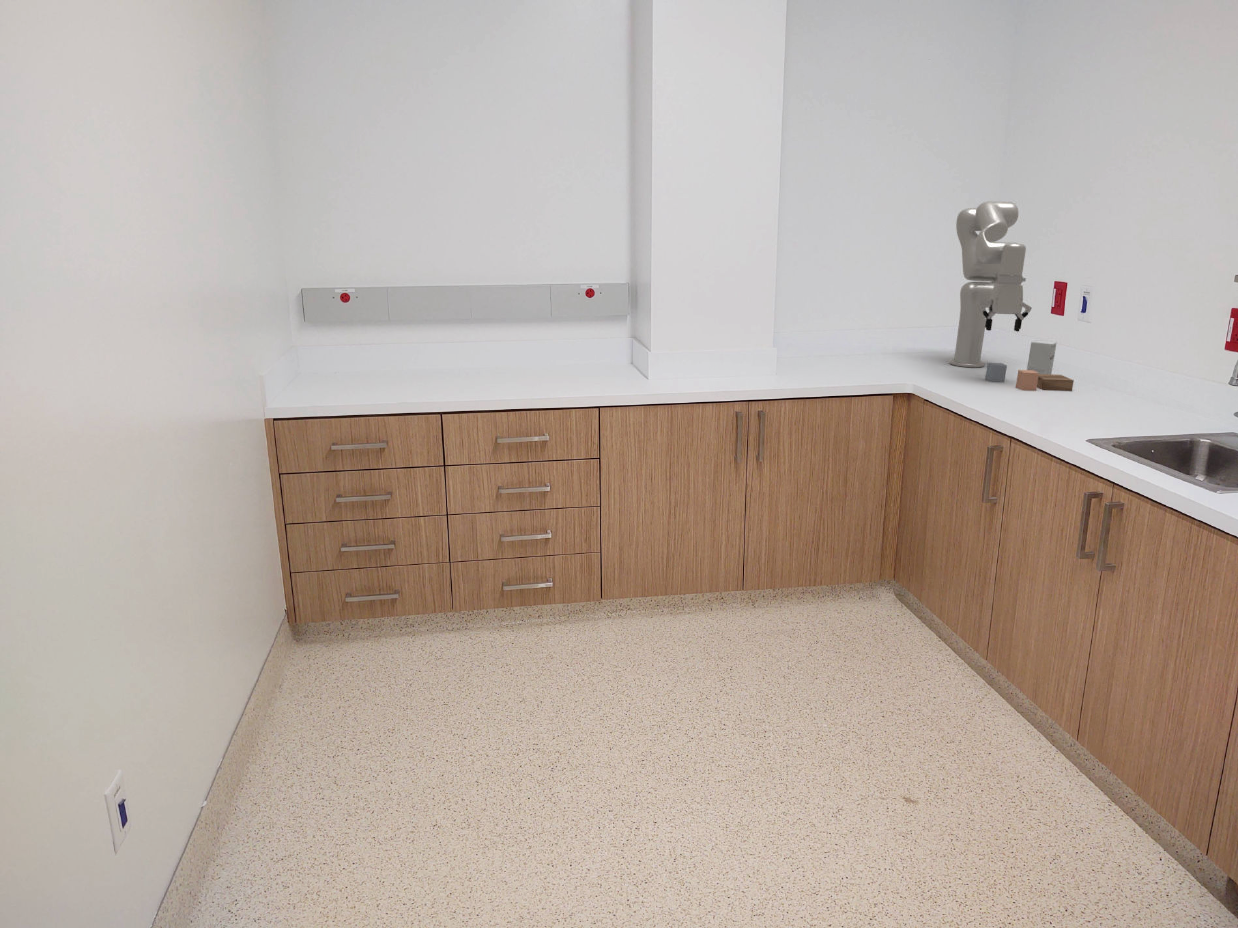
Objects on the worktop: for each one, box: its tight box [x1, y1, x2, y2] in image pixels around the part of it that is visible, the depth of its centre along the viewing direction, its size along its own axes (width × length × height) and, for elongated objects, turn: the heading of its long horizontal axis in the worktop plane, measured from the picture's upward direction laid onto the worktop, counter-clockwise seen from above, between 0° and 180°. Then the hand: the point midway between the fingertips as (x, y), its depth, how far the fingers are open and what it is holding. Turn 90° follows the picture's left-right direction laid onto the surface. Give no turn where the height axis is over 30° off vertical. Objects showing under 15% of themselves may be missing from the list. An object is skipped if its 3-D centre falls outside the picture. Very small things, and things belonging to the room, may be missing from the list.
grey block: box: [984, 362, 1008, 383], centre depth 324 cm, size 5×5×6 cm
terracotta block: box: [1015, 369, 1039, 391], centre depth 311 cm, size 5×5×6 cm
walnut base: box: [1037, 373, 1075, 392], centre depth 315 cm, size 10×10×4 cm
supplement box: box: [1026, 339, 1057, 374], centre depth 334 cm, size 7×7×13 cm
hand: (1002, 330), depth 319 cm, fingers open, 9 cm apart
